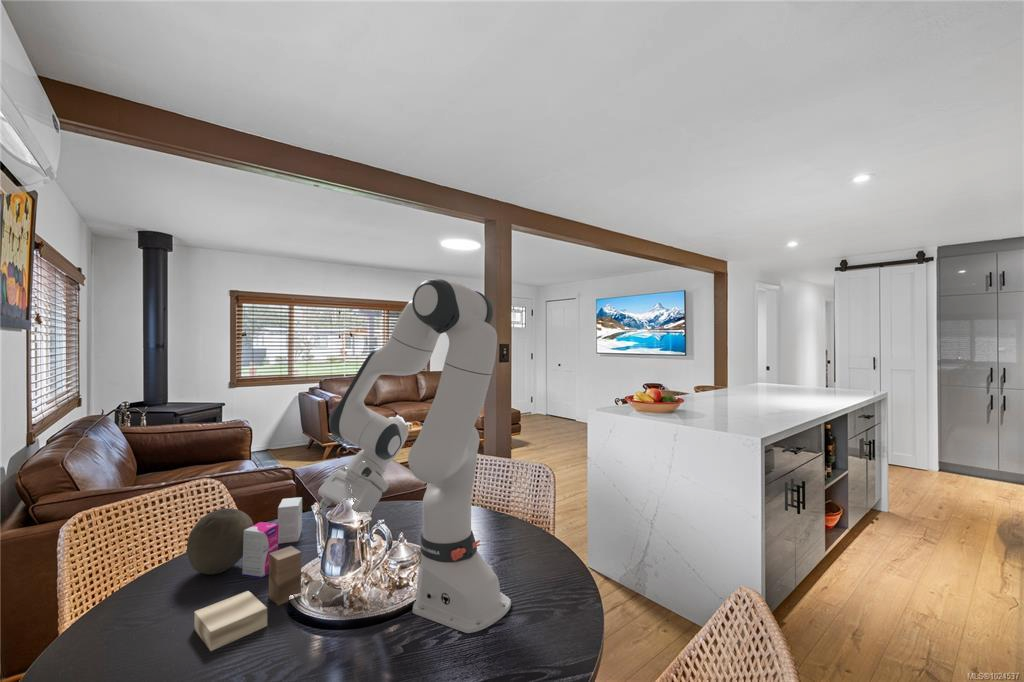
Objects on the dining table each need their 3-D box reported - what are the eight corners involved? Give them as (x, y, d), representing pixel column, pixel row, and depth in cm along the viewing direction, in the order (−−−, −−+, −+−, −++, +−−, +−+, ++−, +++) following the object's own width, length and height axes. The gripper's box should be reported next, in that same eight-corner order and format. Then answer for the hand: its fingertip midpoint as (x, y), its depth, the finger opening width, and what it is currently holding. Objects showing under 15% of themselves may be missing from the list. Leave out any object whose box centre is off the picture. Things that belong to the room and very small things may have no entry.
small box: (282, 533, 137) (282, 498, 137) (302, 530, 139) (302, 496, 139) (277, 544, 130) (277, 507, 130) (298, 541, 131) (298, 505, 131)
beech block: (267, 627, 93) (267, 607, 93) (210, 653, 85) (210, 631, 85) (248, 608, 99) (248, 590, 99) (194, 631, 91) (194, 611, 91)
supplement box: (262, 579, 111) (262, 532, 111) (241, 576, 112) (241, 530, 112) (279, 567, 116) (279, 523, 116) (259, 565, 118) (259, 521, 118)
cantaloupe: (217, 588, 107) (218, 524, 107) (172, 579, 110) (172, 518, 110) (265, 560, 120) (265, 504, 120) (223, 553, 124) (223, 498, 124)
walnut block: (301, 595, 103) (301, 552, 103) (278, 605, 100) (278, 560, 100) (291, 588, 107) (291, 545, 107) (268, 597, 103) (268, 553, 103)
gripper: (334, 459, 124) (298, 504, 116) (377, 474, 110) (339, 526, 103) (349, 472, 127) (315, 517, 119) (393, 488, 114) (357, 539, 106)
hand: (326, 521), depth 111 cm, fingers open, 8 cm apart
